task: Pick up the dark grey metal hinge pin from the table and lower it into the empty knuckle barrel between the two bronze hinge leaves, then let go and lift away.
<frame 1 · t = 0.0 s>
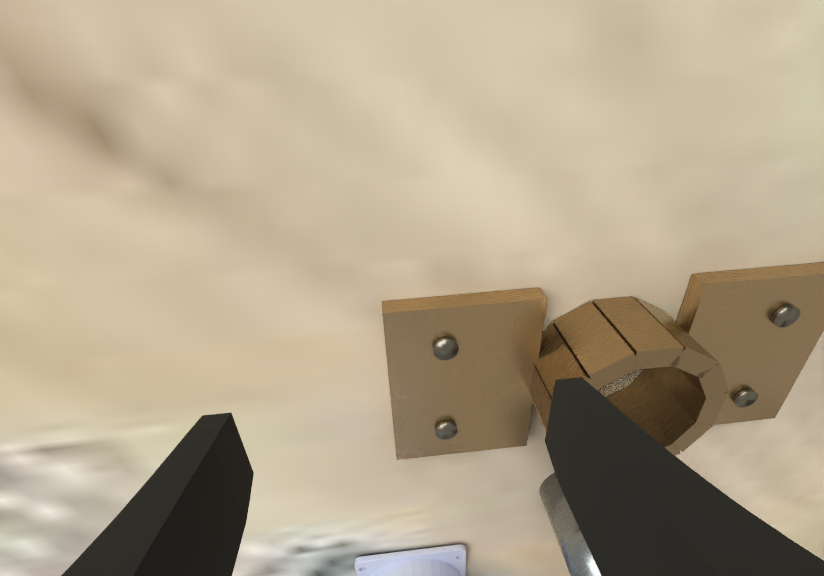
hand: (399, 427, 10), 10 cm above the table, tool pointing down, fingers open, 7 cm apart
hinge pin: (568, 486, 29), on the table
hinge leaves: (598, 360, 23), on the table
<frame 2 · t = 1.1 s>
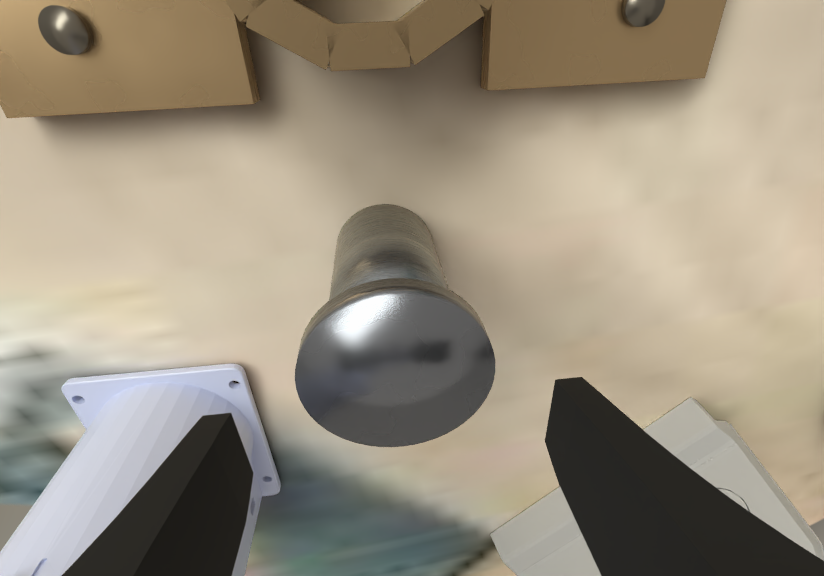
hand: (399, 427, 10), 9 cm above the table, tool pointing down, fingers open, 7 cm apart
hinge: (612, 488, 29), on the table
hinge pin: (385, 250, 18), on the table
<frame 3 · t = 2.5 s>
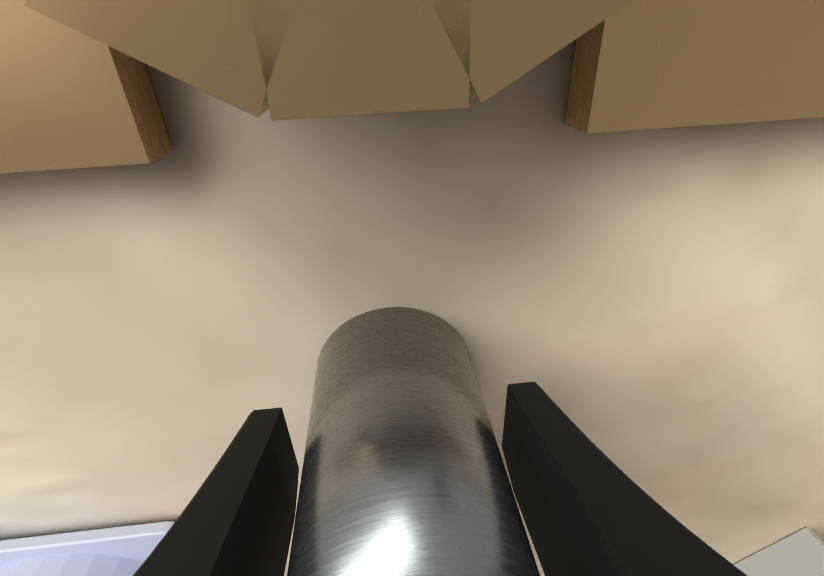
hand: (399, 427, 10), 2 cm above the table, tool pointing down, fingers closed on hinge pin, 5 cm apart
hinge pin: (394, 370, 11), on the table, touching gripper
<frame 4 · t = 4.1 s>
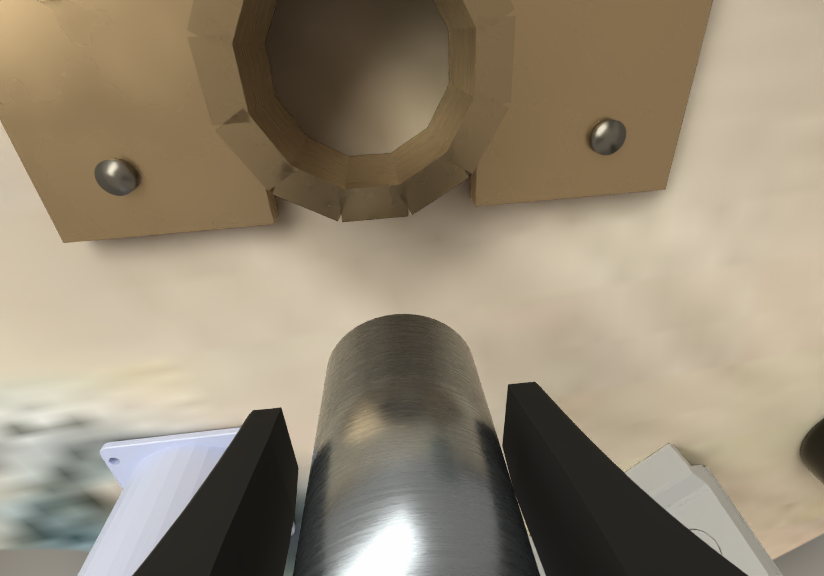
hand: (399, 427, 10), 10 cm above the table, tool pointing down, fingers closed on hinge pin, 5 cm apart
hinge: (599, 522, 31), on the table
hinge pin: (401, 376, 12), point 7 cm above the table, touching gripper
hinge leaves: (360, 63, 14), on the table
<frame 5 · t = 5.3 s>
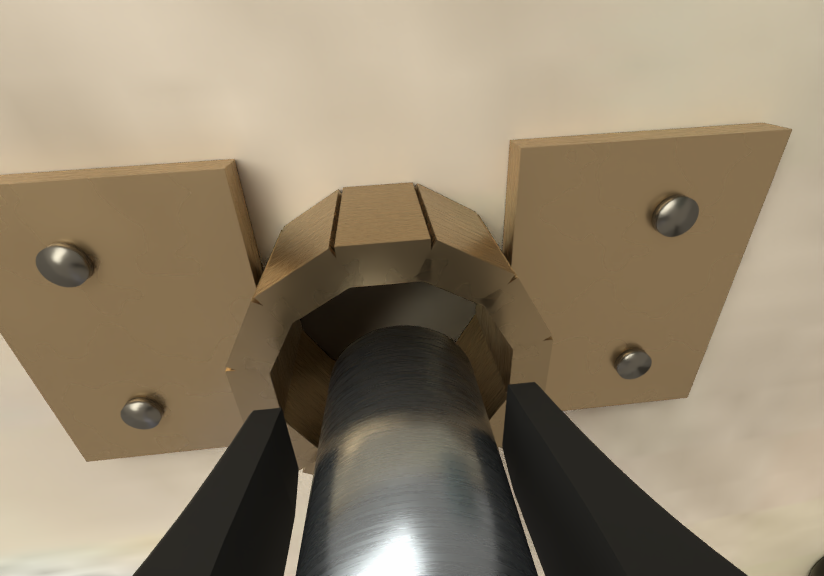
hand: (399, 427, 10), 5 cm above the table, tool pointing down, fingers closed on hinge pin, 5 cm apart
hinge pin: (402, 387, 12), point 3 cm above the table, tilted 5°, touching gripper
hinge leaves: (388, 302, 14), on the table
when the fingers open (5 cm above the table, at t = 5.9 s): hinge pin drops 3 cm, resting in hinge leaves.
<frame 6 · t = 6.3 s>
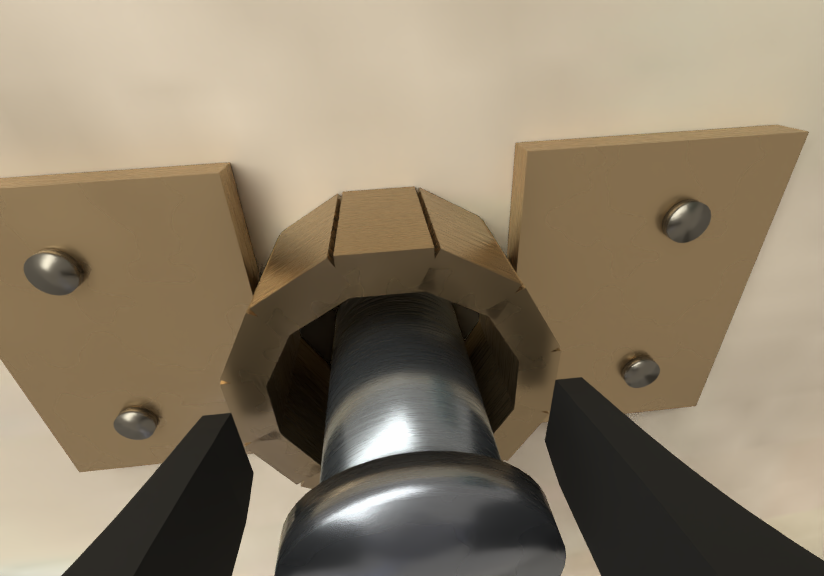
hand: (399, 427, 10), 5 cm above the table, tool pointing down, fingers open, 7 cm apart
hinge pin: (395, 325, 14), resting in hinge leaves
hinge leaves: (389, 308, 14), on the table
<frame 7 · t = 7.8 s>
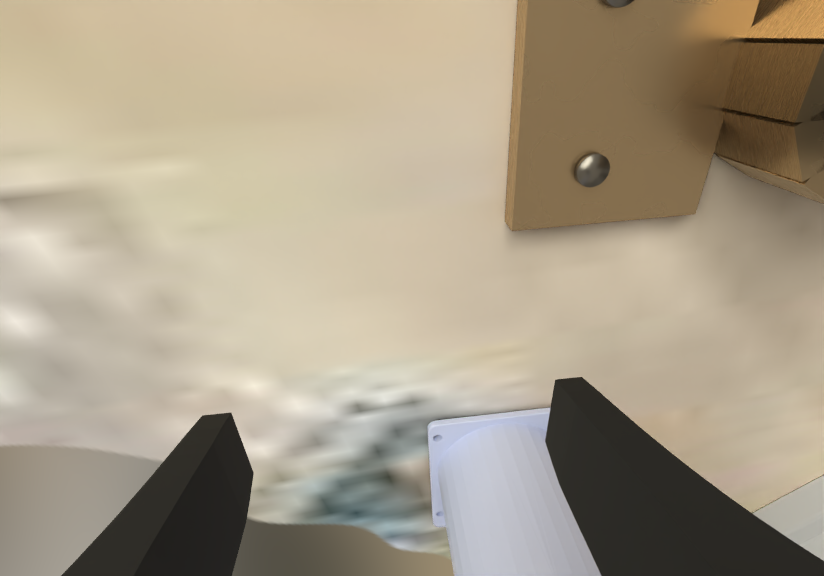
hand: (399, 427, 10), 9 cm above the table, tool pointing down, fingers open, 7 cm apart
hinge: (805, 505, 32), on the table
hinge leaves: (815, 66, 16), on the table
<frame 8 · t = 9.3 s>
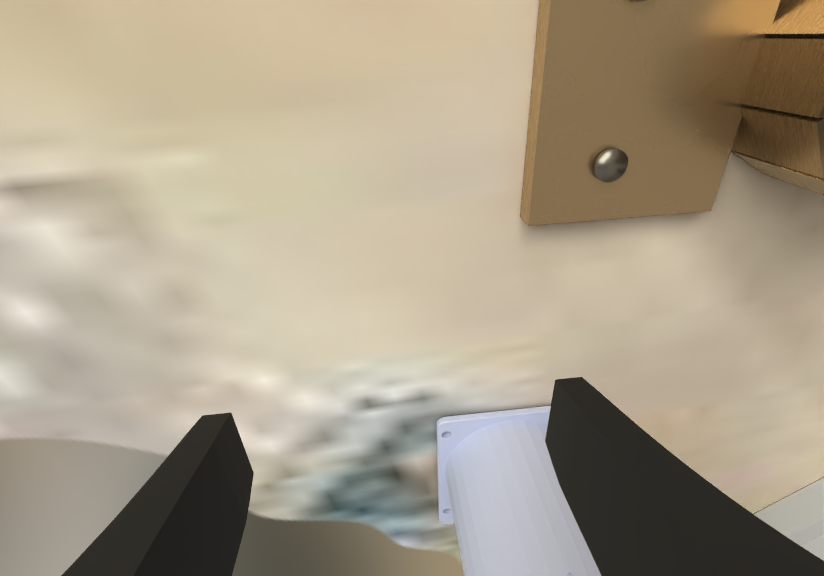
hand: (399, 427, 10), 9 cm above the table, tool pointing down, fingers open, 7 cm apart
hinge: (807, 507, 32), on the table
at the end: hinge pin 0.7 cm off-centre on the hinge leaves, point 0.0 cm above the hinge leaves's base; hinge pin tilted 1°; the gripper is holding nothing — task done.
